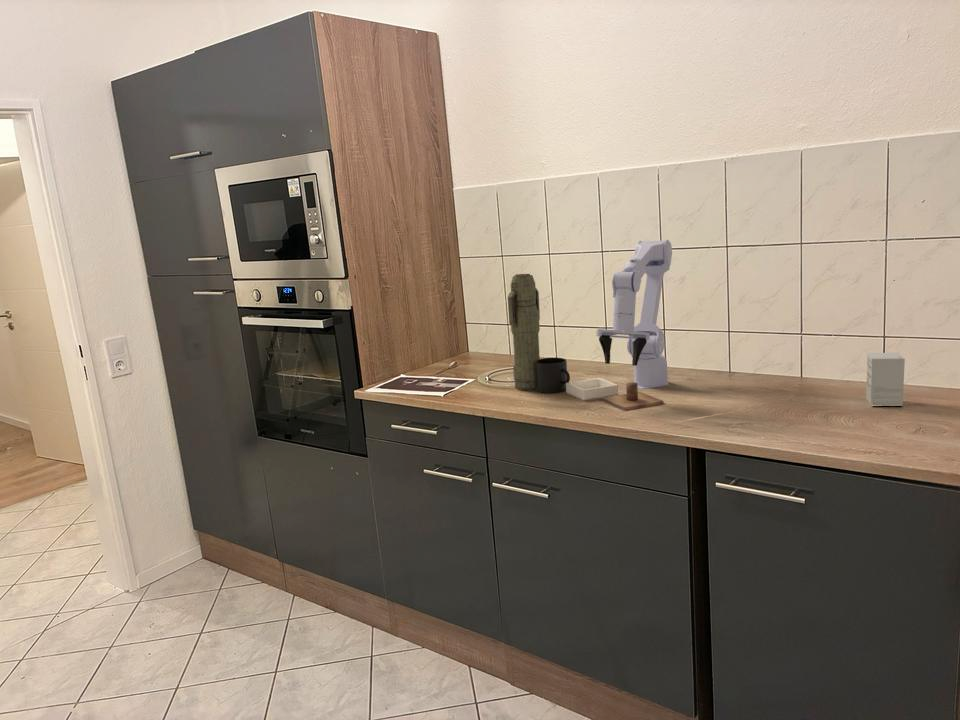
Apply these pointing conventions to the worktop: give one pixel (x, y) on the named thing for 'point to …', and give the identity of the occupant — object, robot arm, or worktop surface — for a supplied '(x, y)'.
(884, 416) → the worktop surface
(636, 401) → the lid
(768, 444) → the worktop surface
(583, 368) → the worktop surface
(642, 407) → the mat
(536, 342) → the thermos
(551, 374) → the mug
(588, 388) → the dish
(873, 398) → the supplement box
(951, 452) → the worktop surface
